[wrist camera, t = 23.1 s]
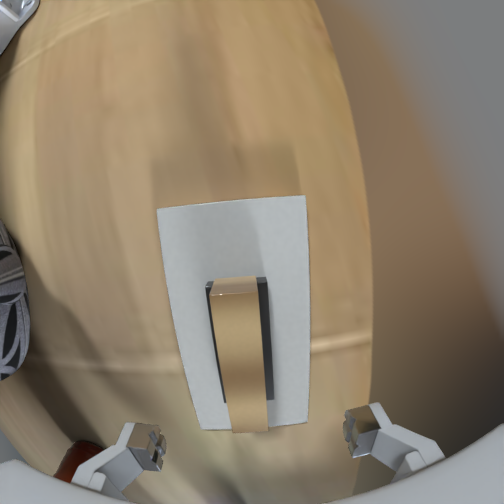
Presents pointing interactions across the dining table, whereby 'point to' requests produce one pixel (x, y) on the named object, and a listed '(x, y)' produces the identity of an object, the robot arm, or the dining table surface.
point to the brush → (242, 348)
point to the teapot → (12, 307)
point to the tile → (238, 265)
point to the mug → (76, 459)
